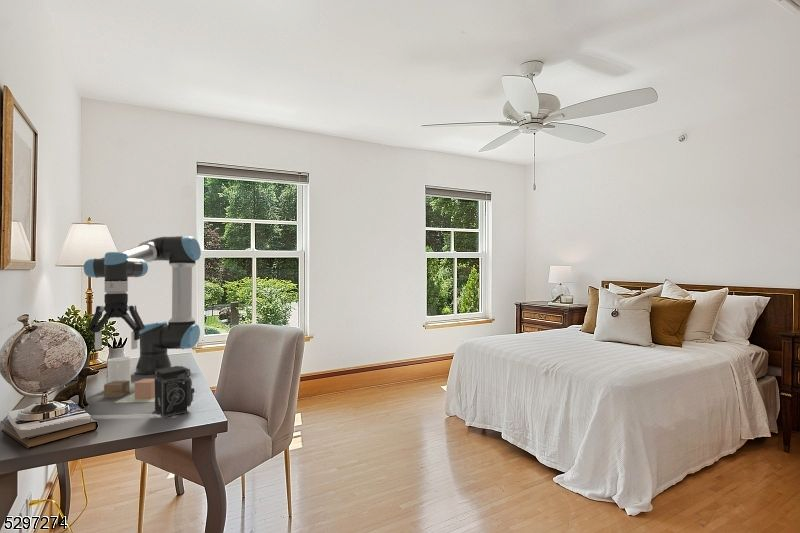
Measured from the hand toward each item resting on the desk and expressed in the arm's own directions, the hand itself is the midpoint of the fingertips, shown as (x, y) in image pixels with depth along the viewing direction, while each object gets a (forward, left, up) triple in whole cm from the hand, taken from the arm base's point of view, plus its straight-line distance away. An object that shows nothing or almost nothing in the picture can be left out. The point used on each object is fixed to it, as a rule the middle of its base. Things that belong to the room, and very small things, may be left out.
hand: (116, 349), depth 172 cm
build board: (+3, +13, -19) cm, 23 cm away
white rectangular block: (-14, -8, -19) cm, 25 cm away
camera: (+19, +31, -19) cm, 41 cm away
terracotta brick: (+3, +13, -17) cm, 22 cm away
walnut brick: (0, 0, -19) cm, 19 cm away
